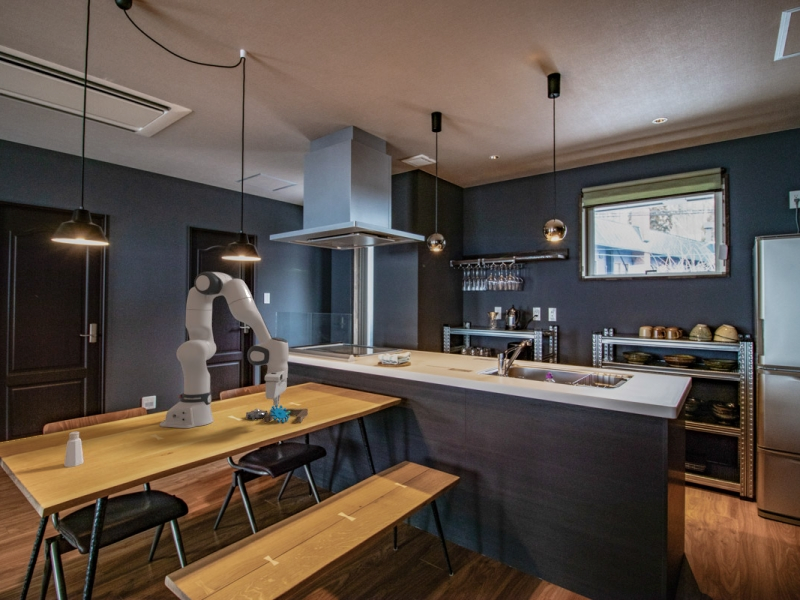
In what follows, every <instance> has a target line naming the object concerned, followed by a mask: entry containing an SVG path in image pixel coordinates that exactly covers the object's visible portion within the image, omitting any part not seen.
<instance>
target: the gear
mask: <svg viewBox="0 0 800 600" xmlns="http://www.w3.org/2000/svg"><path fill="white" fill-rule="evenodd" d="M283 407H284V406H283V405H281V404H280V405H279V404H278V405H272V406H271V408H270V410H269V412H272V413H271V414H270V415H271V416H275V417H273V419H272V420H273V421H274V420H276V422H277V423H278V424H279V423H282V424H284V423H287V422H289V418H290V417H291V416H289V415H288V414H289V413H290V411H288V412H285V411H286V410H287V409H288V408H286V407H284V408H283ZM273 410H274V411H273ZM273 413H274V414H273ZM281 420H282V421H281Z"/></svg>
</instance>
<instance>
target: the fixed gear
mask: <svg viewBox="0 0 800 600" xmlns="http://www.w3.org/2000/svg"><path fill="white" fill-rule="evenodd" d="M268 413H269V412H268V410H263V409H260V408H255V409H254V410H251V411H247V412H246V413H245V420H246V419H252V420H255V419H263V418H264V416H266V415H267V414H268ZM252 420H251V421H252ZM263 420H264V419H263ZM255 421H256V420H255Z"/></svg>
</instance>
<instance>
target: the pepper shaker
mask: <svg viewBox="0 0 800 600" xmlns="http://www.w3.org/2000/svg"><path fill="white" fill-rule="evenodd" d="M68 435H69V436H68V438H69V439H68V440H67V443H66V450H65V455H64V457H65V458H64V467H65V468H72V467H77V466H80V465H83V463H84V462H85V461H84V453H83V445H82V444H83V443H82V439H81V438H80V431H72V432H70V433H68Z"/></svg>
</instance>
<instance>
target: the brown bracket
mask: <svg viewBox="0 0 800 600" xmlns="http://www.w3.org/2000/svg"><path fill="white" fill-rule="evenodd" d="M286 409H287V410H286V411H285V412H288V411H290V413H289V414H288V415H297V416H296V418H295V419H296V422H295V423H297V424H301V423H302V422H303V419H304V420H305V419H306V417H308V416H309V414H308V413H309V411H308V410H309V409H308V408H286ZM273 411H274V410H273ZM271 413H272V412H270V411H269V412H268V414H267V415H266V416H264V419H263V420H264V421H263V423H264V422H269V423H271V422H272V420H274V419H273V417H275V416H271V415H270V414H271ZM273 414H274V413H273Z"/></svg>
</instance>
